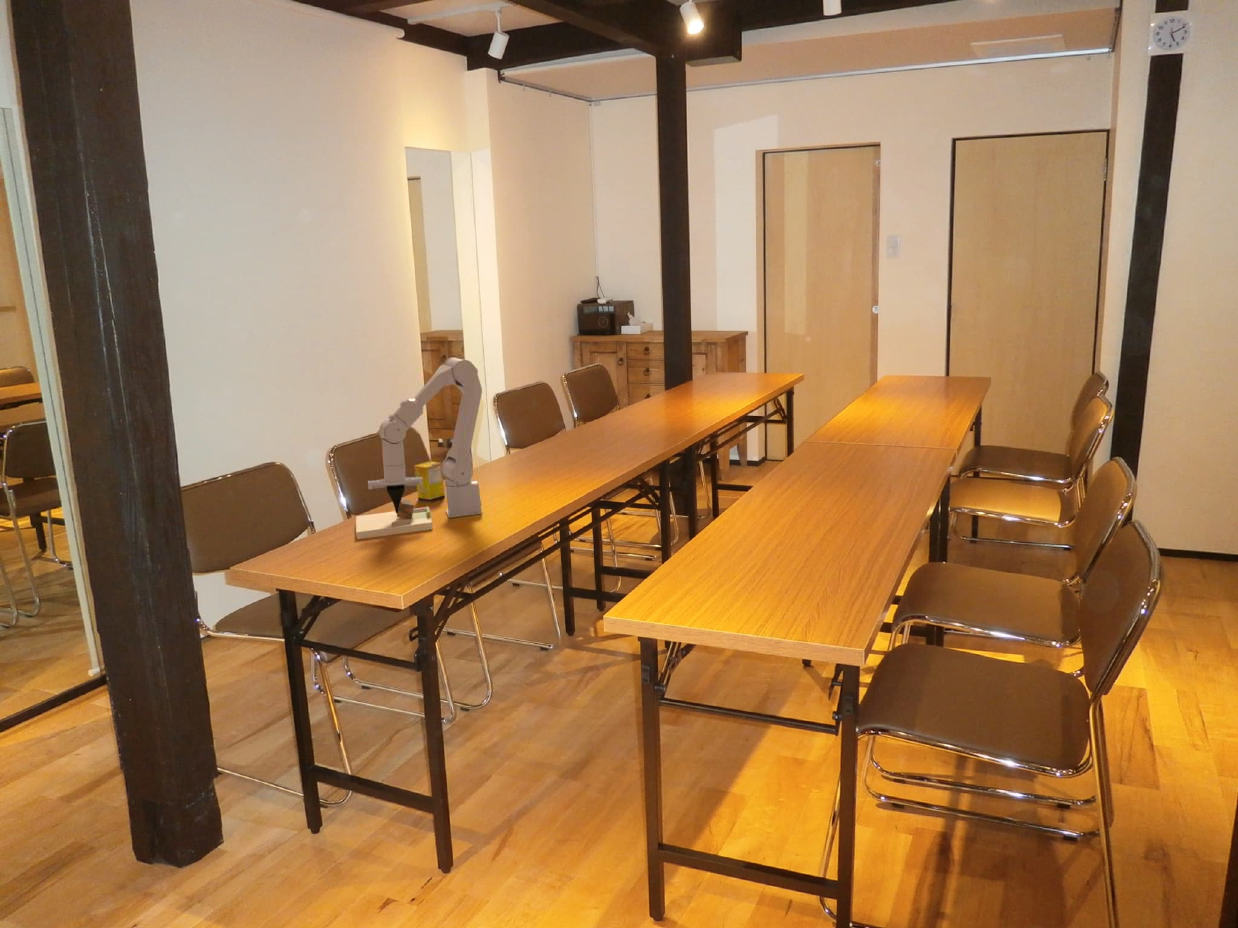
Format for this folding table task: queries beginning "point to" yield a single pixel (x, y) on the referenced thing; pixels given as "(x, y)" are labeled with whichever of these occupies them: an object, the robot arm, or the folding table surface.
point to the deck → (392, 523)
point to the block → (405, 509)
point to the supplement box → (430, 481)
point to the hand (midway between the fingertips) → (397, 512)
